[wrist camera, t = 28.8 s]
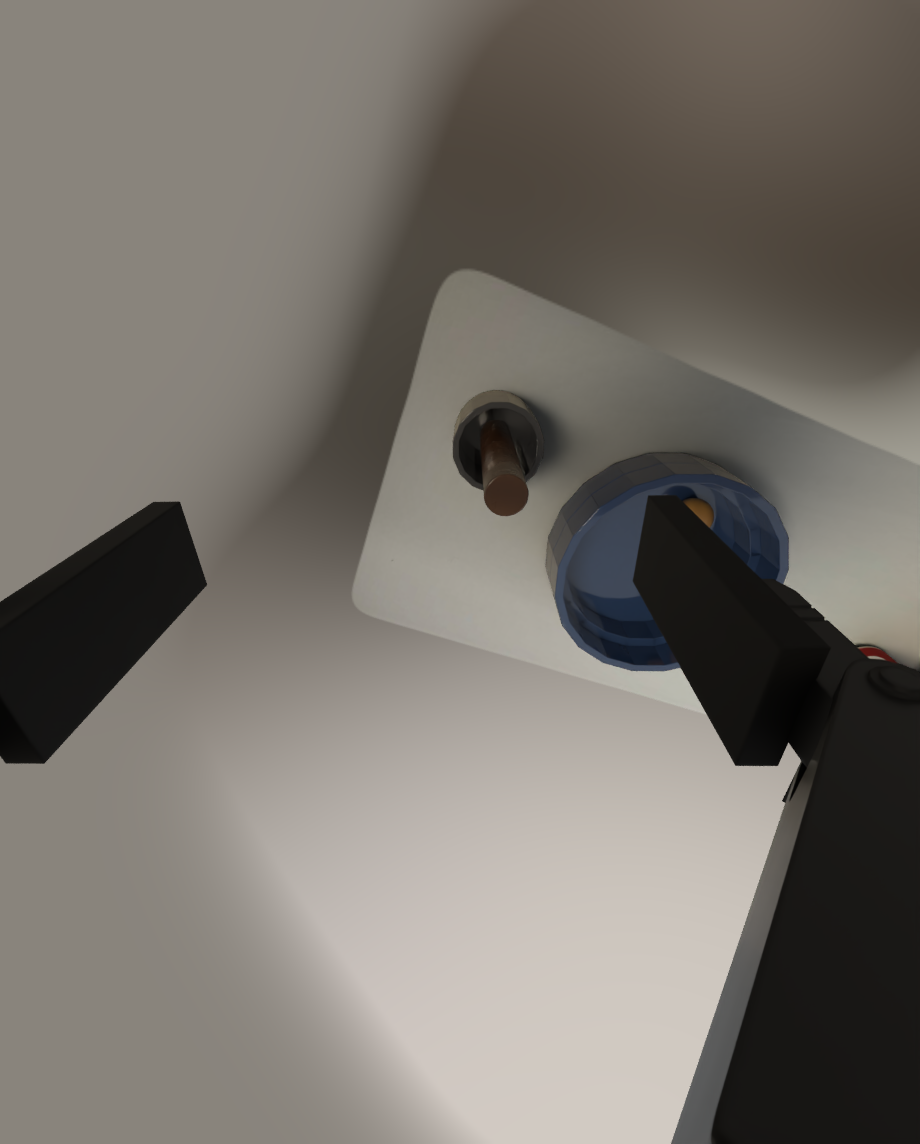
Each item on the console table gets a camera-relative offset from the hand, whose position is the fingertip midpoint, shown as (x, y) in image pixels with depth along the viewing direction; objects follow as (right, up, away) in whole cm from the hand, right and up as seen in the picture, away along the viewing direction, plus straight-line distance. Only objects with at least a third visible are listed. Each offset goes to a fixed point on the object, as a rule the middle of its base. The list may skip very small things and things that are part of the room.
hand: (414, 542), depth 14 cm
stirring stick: (+5, +12, +31) cm, 33 cm away
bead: (+23, +4, +32) cm, 40 cm away
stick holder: (+5, +12, +31) cm, 33 cm away
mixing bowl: (+21, +1, +36) cm, 42 cm away
